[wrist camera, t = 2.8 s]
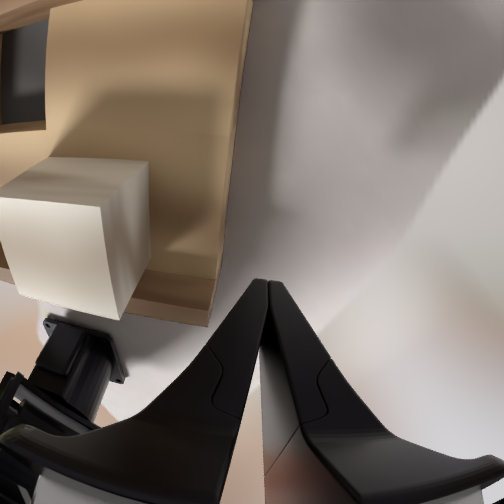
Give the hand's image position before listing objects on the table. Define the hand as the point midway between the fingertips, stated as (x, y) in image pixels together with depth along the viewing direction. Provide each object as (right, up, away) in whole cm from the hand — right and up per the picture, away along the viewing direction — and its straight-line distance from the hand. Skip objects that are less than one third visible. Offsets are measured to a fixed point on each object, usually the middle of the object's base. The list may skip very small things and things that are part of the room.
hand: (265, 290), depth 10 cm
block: (-7, +3, +3) cm, 8 cm away
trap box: (-13, +8, +3) cm, 16 cm away
